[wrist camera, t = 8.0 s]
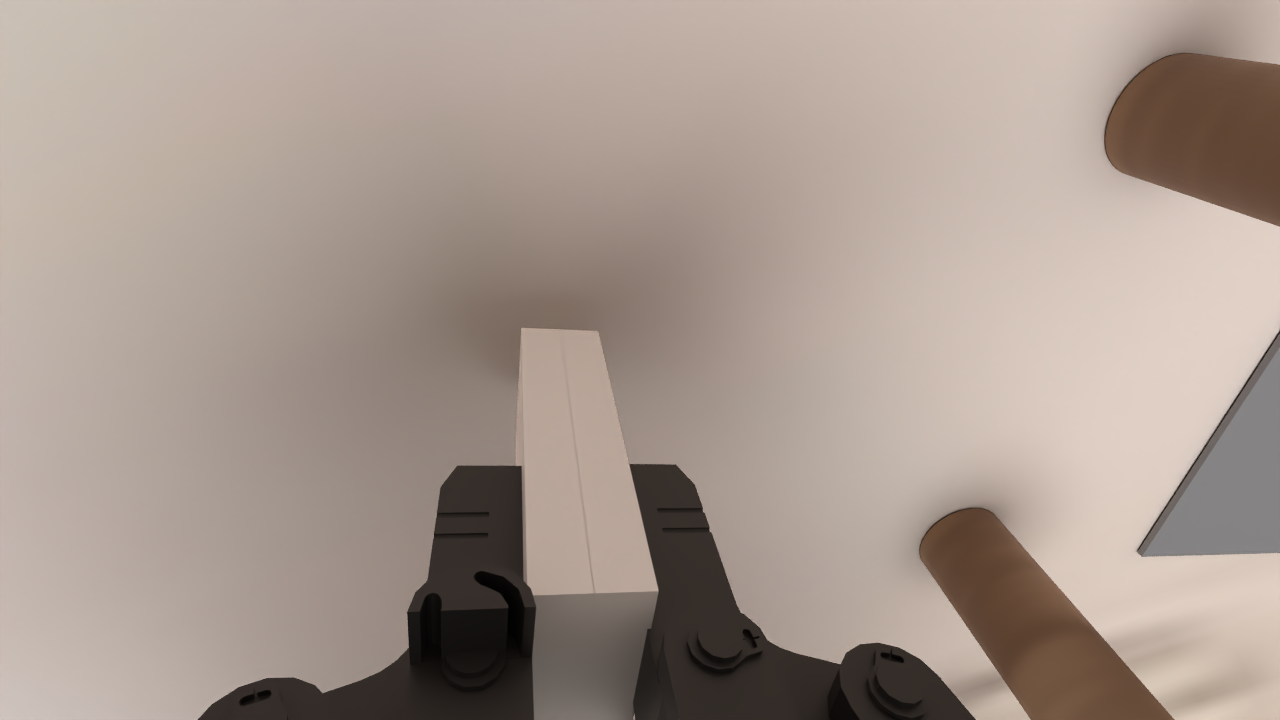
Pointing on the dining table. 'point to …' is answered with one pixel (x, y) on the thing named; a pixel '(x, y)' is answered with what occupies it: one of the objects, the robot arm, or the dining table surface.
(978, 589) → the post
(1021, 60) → the dining table surface
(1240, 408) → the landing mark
